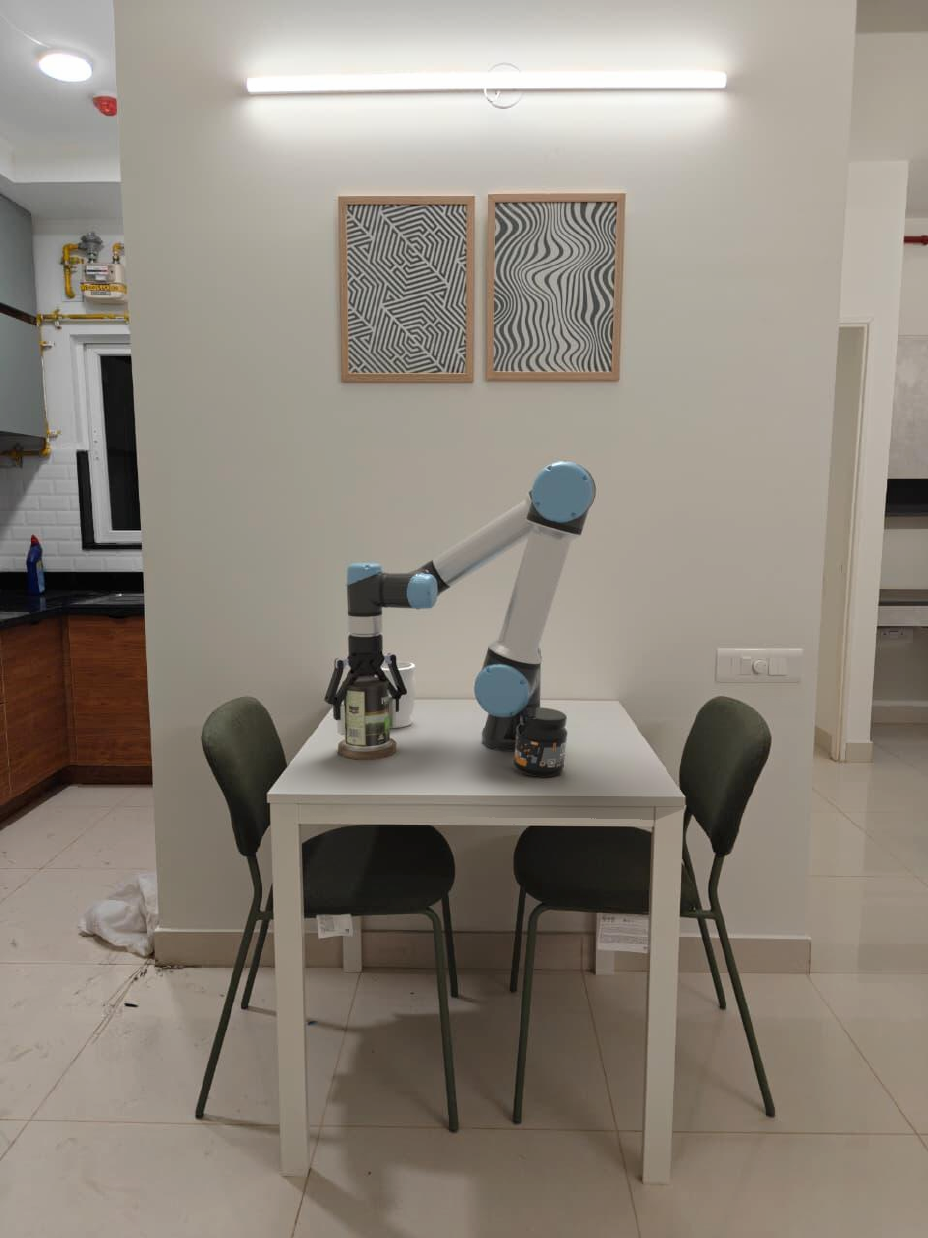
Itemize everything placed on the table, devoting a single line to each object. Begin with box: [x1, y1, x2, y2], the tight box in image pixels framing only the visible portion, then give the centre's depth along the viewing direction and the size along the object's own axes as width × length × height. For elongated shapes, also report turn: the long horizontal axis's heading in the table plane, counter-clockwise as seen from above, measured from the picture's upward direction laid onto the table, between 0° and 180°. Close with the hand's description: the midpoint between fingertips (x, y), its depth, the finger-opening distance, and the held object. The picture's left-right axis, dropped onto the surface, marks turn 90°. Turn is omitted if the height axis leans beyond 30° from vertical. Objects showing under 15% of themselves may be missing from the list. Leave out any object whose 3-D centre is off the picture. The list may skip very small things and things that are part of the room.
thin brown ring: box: [337, 737, 398, 761], centre depth 183 cm, size 13×13×2 cm
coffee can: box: [341, 677, 391, 749], centre depth 182 cm, size 10×10×14 cm
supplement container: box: [513, 706, 569, 778], centre depth 168 cm, size 10×10×12 cm
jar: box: [375, 660, 416, 729], centre depth 203 cm, size 11×10×15 cm
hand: (367, 730), depth 183 cm, fingers open, 11 cm apart
